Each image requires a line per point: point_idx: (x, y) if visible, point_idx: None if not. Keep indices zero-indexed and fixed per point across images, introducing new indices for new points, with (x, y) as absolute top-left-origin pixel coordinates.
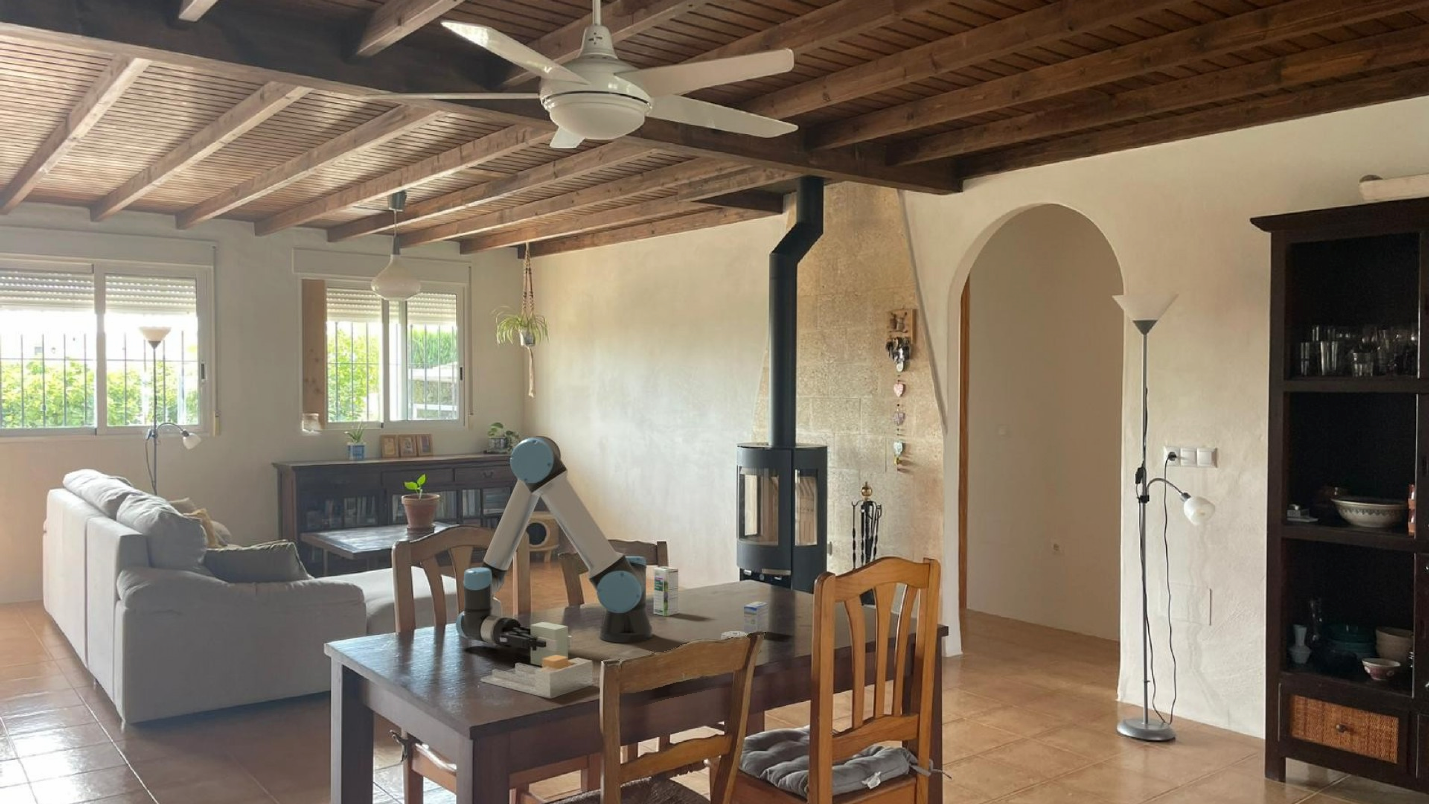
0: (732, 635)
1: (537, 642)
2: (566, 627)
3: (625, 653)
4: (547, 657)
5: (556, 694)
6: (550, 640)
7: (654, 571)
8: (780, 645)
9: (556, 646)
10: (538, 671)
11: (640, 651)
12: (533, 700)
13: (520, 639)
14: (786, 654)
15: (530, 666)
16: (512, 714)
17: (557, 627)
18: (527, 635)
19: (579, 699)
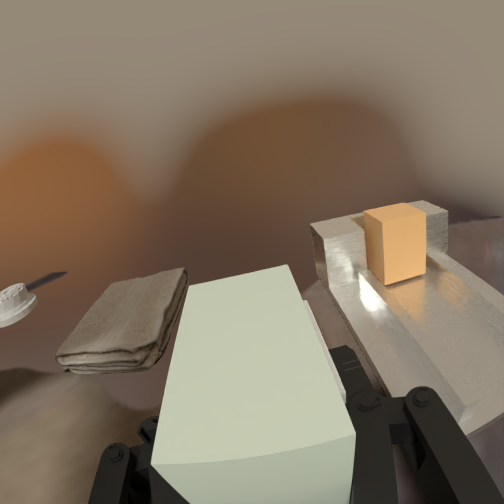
0: (16, 287)
1: (364, 379)
2: (200, 286)
3: (105, 341)
4: (410, 214)
5: None
6: (315, 321)
7: None
8: None
9: None
10: (441, 209)
11: (86, 330)
12: (452, 247)
13: (459, 433)
14: (42, 280)
15: (432, 347)
16: (484, 224)
17: (241, 288)
18: (376, 491)
19: None
